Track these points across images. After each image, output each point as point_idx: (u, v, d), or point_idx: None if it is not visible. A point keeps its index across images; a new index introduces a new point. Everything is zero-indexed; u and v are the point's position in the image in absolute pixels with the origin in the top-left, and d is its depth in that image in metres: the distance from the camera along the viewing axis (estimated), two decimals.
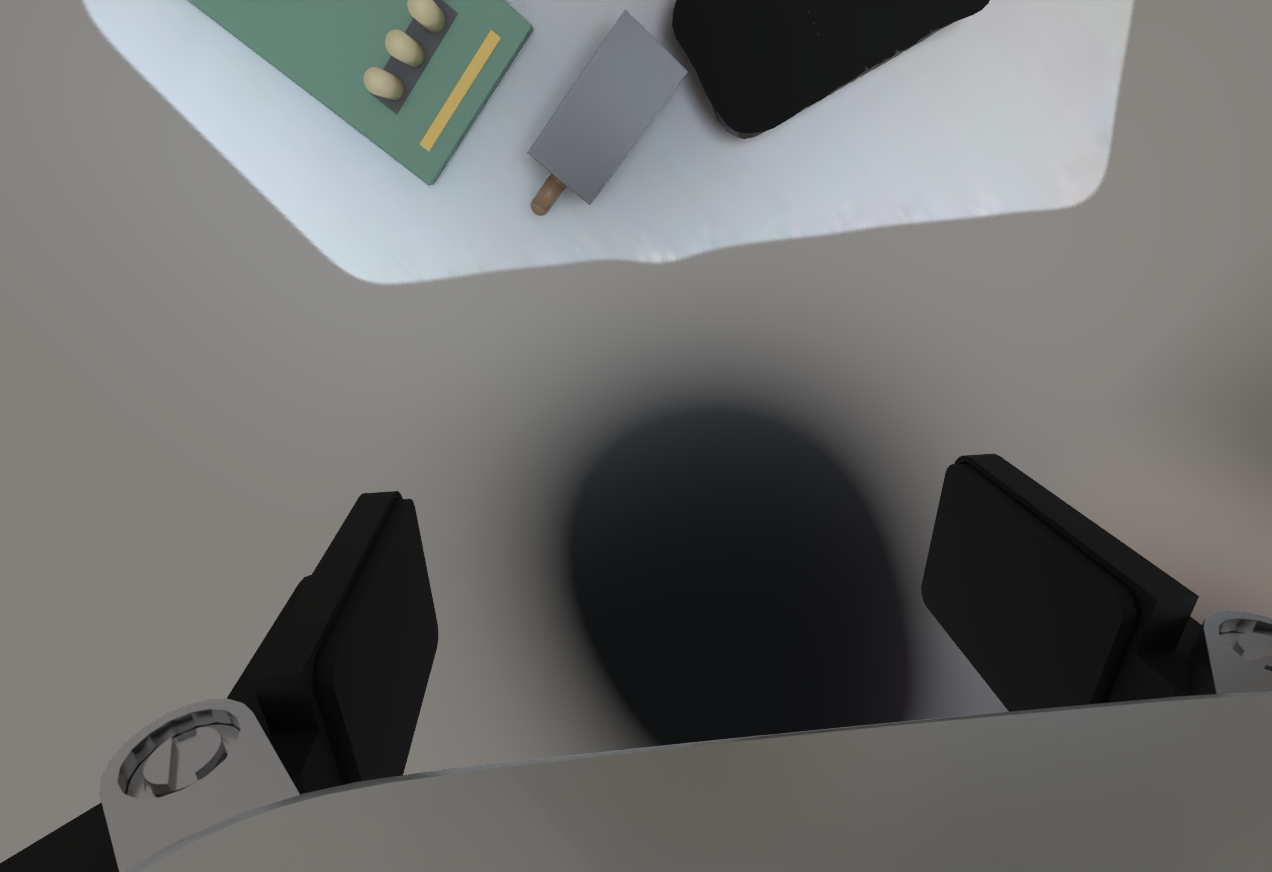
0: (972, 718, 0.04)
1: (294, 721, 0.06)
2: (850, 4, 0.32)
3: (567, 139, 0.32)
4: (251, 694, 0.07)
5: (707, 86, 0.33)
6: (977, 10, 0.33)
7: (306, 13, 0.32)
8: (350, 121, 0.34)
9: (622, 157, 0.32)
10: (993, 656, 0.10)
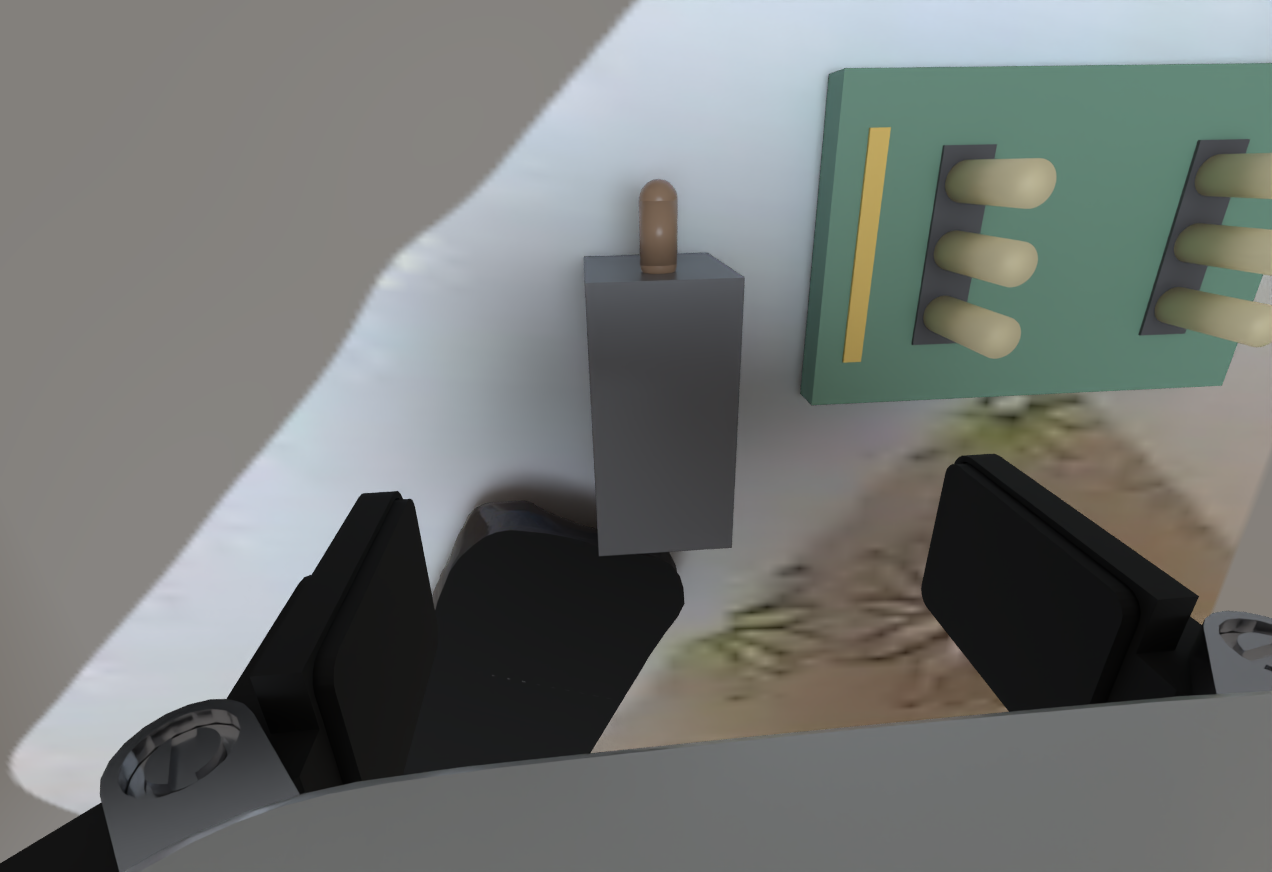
0: (972, 719, 0.04)
1: (294, 721, 0.06)
2: (486, 716, 0.23)
3: (696, 348, 0.16)
4: (251, 694, 0.07)
5: (576, 546, 0.21)
6: None
7: (1116, 182, 0.19)
8: (1012, 72, 0.18)
9: (594, 394, 0.16)
10: (993, 656, 0.10)
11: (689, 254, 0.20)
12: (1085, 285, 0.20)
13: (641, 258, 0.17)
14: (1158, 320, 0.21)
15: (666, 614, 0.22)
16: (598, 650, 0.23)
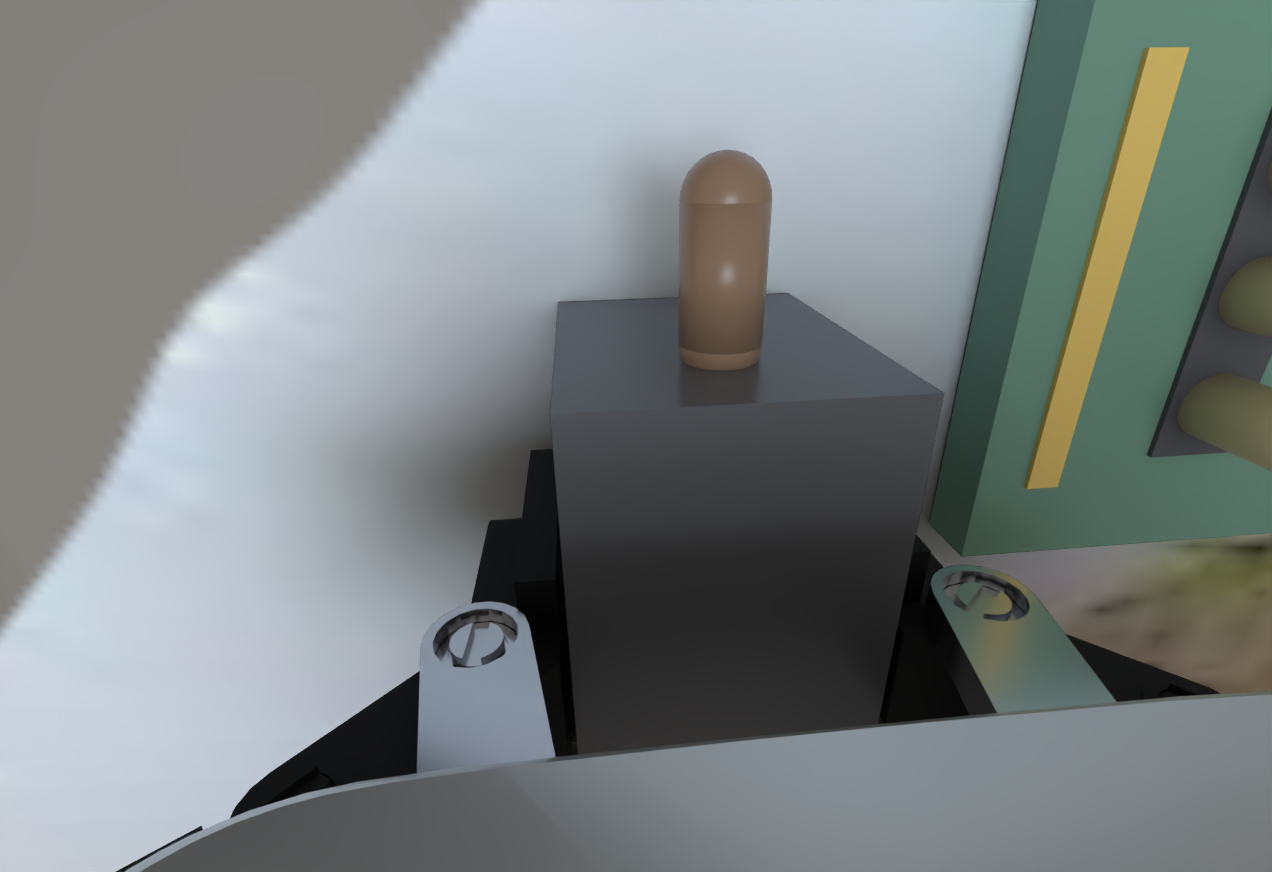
0: (972, 718, 0.04)
1: (542, 623, 0.08)
2: None
3: (813, 546, 0.07)
4: None
5: None
6: None
7: None
8: None
9: (577, 645, 0.07)
10: None
11: None
12: None
13: (683, 333, 0.07)
14: None
15: None
16: None
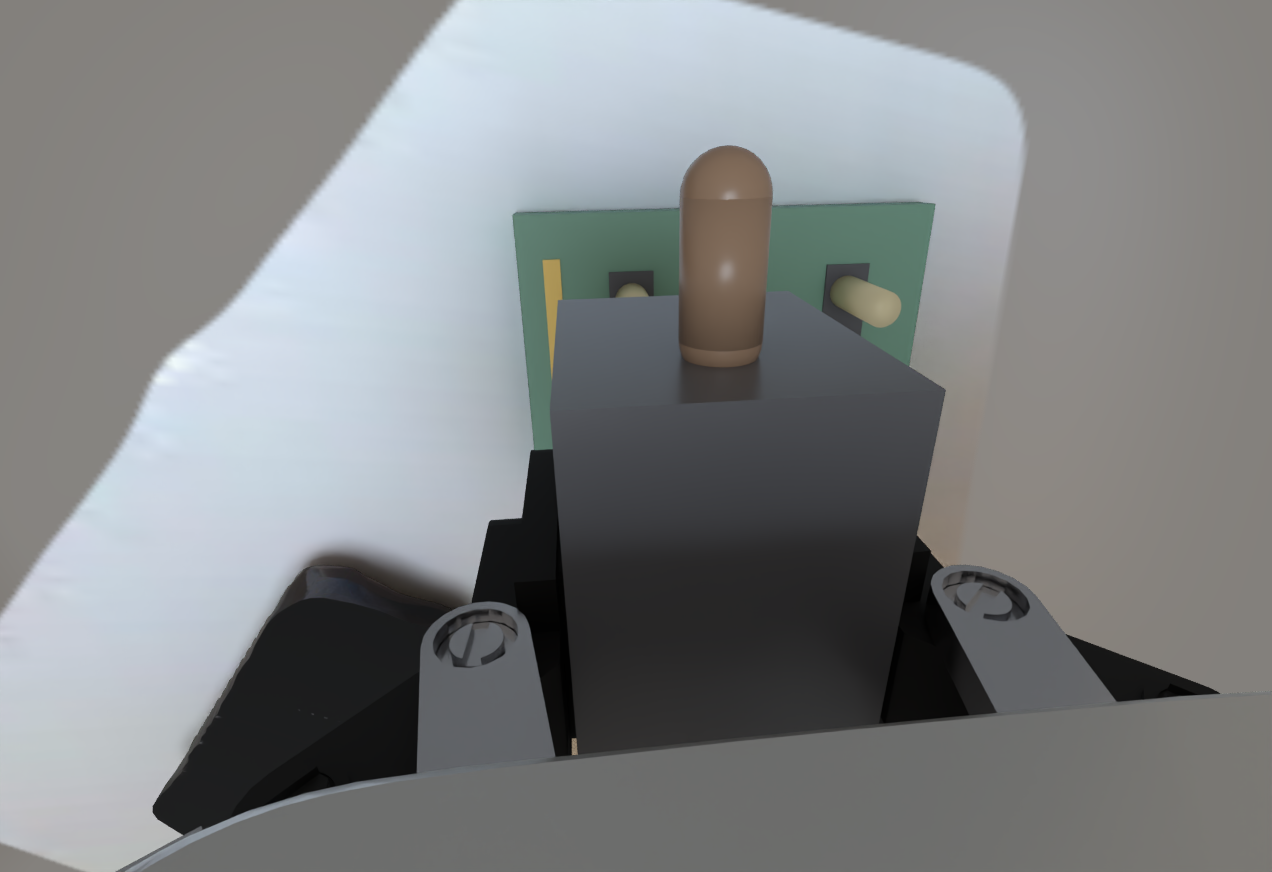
0: (972, 718, 0.04)
1: (541, 623, 0.08)
2: (289, 742, 0.27)
3: (813, 544, 0.07)
4: None
5: (380, 616, 0.25)
6: (156, 803, 0.28)
7: None
8: (655, 216, 0.22)
9: (577, 643, 0.07)
10: None
11: None
12: None
13: (683, 330, 0.07)
14: None
15: None
16: None
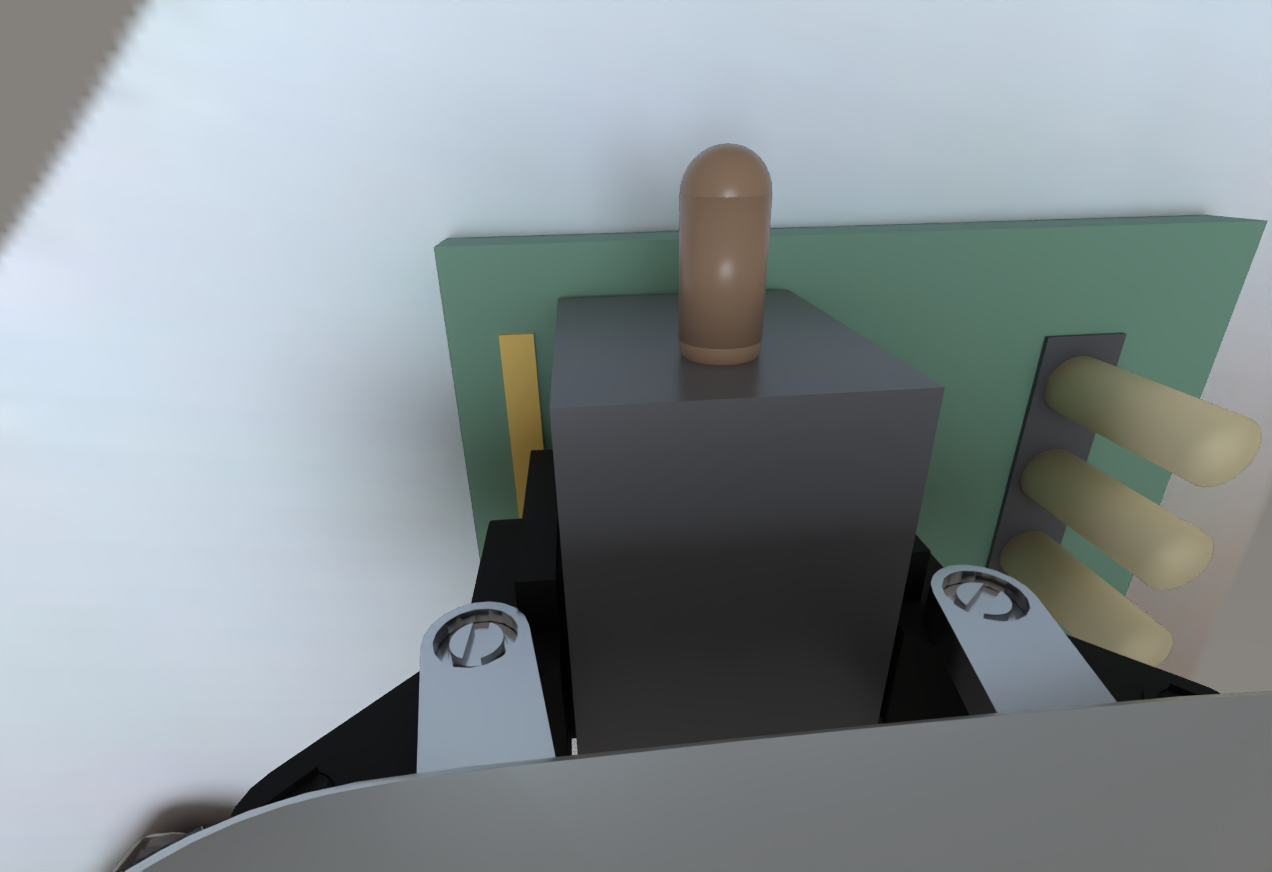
0: (972, 718, 0.04)
1: (542, 623, 0.08)
2: None
3: (813, 541, 0.07)
4: None
5: None
6: None
7: None
8: None
9: (577, 640, 0.07)
10: None
11: None
12: None
13: (683, 328, 0.07)
14: None
15: None
16: None
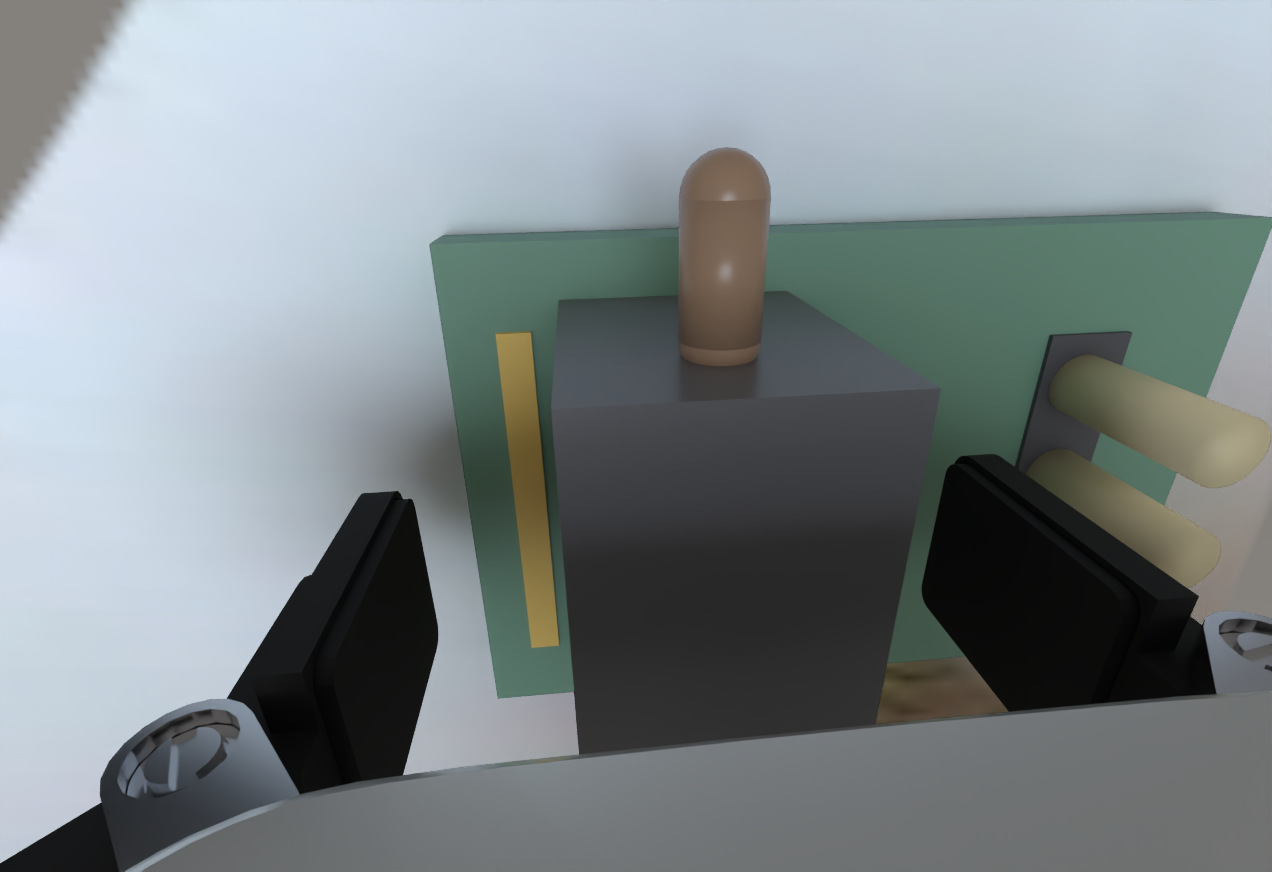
0: (972, 718, 0.04)
1: (294, 721, 0.06)
2: None
3: (811, 540, 0.07)
4: (251, 694, 0.07)
5: None
6: None
7: None
8: None
9: (578, 639, 0.07)
10: (993, 656, 0.10)
11: None
12: None
13: (682, 330, 0.07)
14: None
15: None
16: None
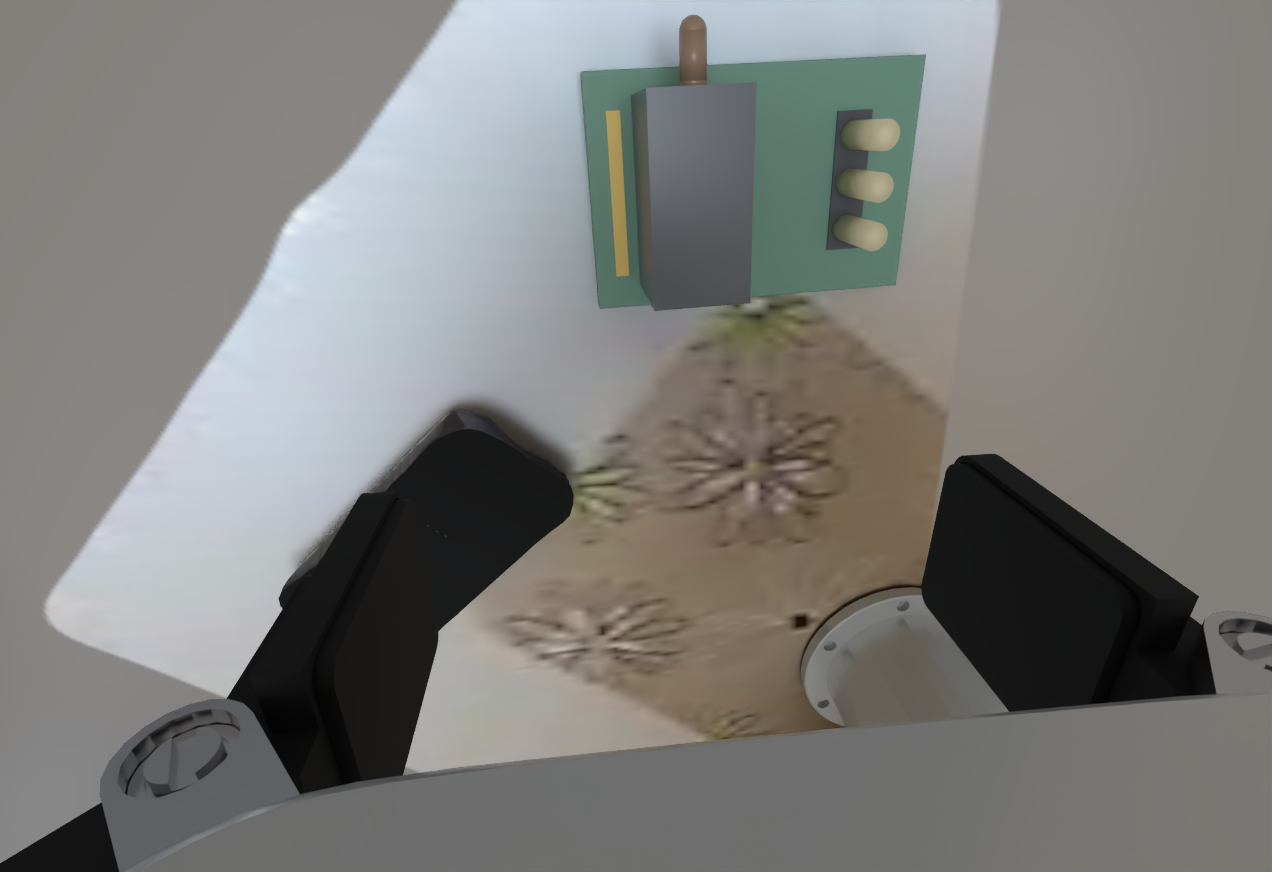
0: (972, 718, 0.04)
1: (294, 721, 0.06)
2: None
3: (723, 138, 0.23)
4: (251, 694, 0.07)
5: (516, 454, 0.31)
6: (284, 591, 0.33)
7: (786, 142, 0.28)
8: None
9: (652, 176, 0.23)
10: (993, 656, 0.10)
11: None
12: (780, 215, 0.29)
13: (681, 76, 0.23)
14: (838, 239, 0.30)
15: (556, 518, 0.33)
16: (503, 529, 0.33)
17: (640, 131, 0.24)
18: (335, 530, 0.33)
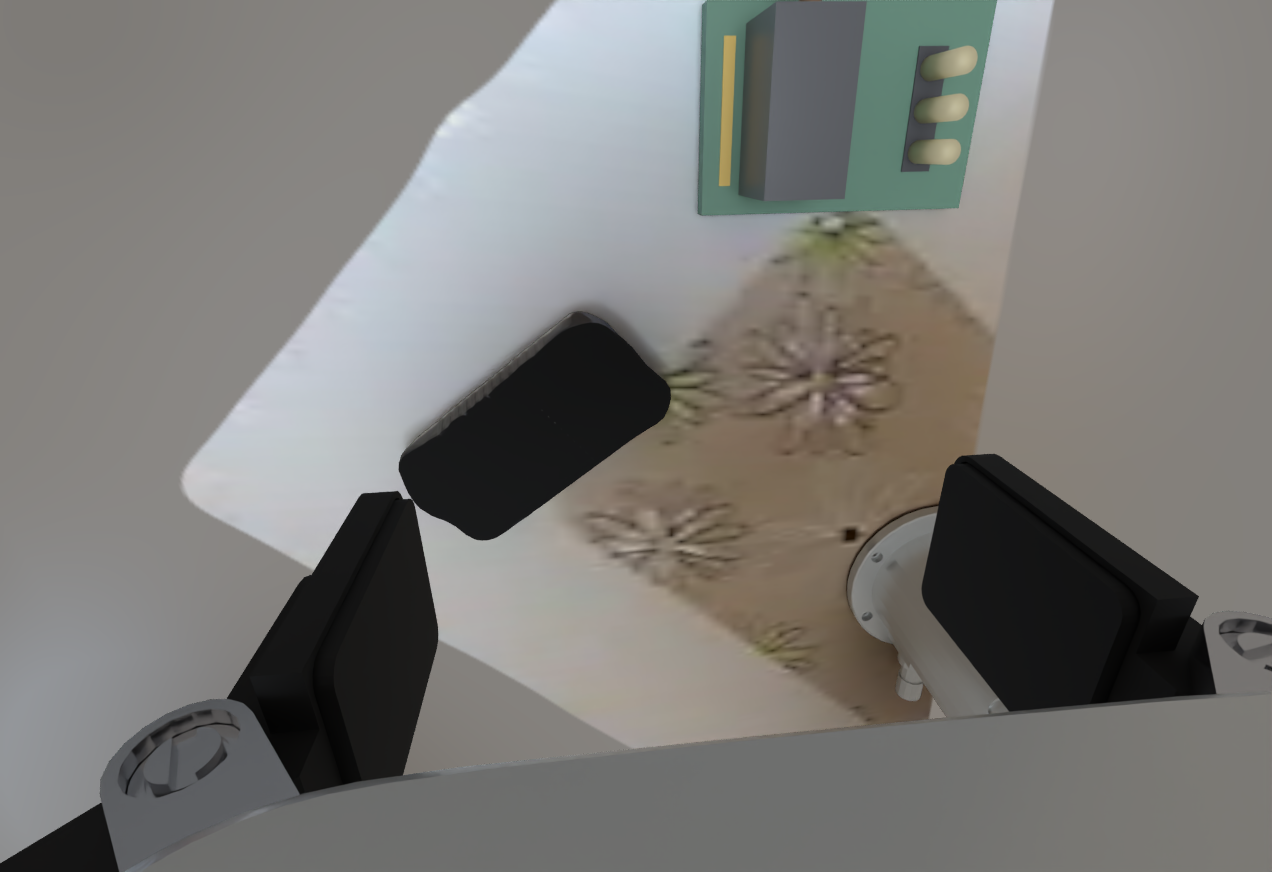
0: (972, 718, 0.04)
1: (294, 721, 0.06)
2: (521, 435, 0.37)
3: (835, 49, 0.28)
4: (251, 694, 0.07)
5: (631, 352, 0.36)
6: (406, 456, 0.37)
7: (874, 71, 0.33)
8: None
9: (773, 79, 0.28)
10: (993, 656, 0.10)
11: None
12: (863, 138, 0.34)
13: None
14: (912, 162, 0.35)
15: (651, 419, 0.38)
16: (605, 423, 0.37)
17: (760, 46, 0.29)
18: (456, 408, 0.37)
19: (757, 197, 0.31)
